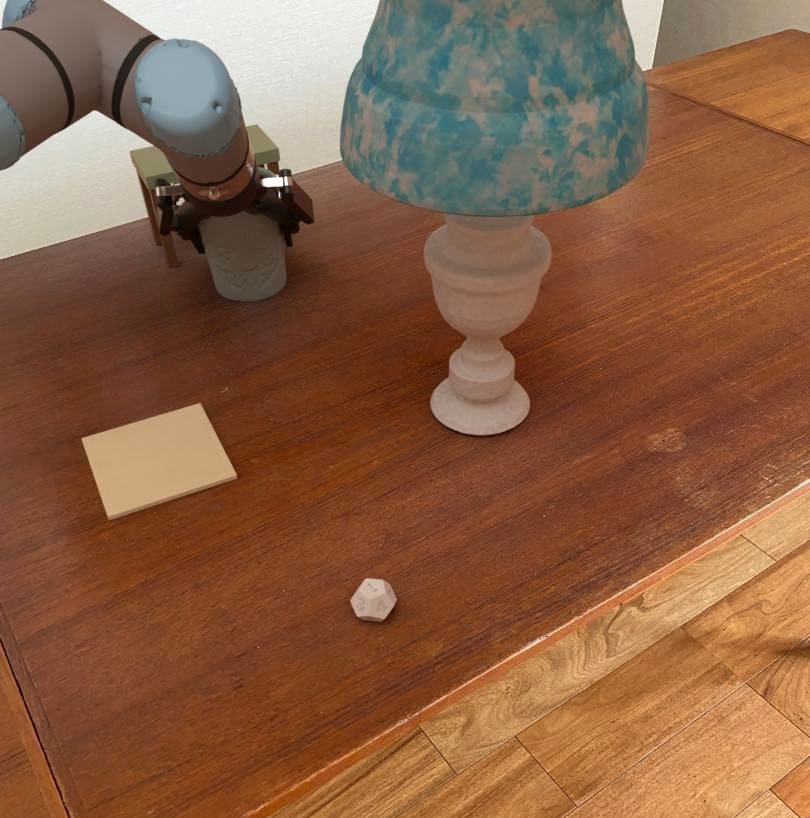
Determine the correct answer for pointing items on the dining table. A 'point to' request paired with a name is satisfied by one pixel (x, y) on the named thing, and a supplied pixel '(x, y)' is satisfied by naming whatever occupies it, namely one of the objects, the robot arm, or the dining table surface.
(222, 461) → the mat
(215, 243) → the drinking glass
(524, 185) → the table lamp
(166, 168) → the side table
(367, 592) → the game die
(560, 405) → the dining table surface
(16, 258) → the dining table surface
